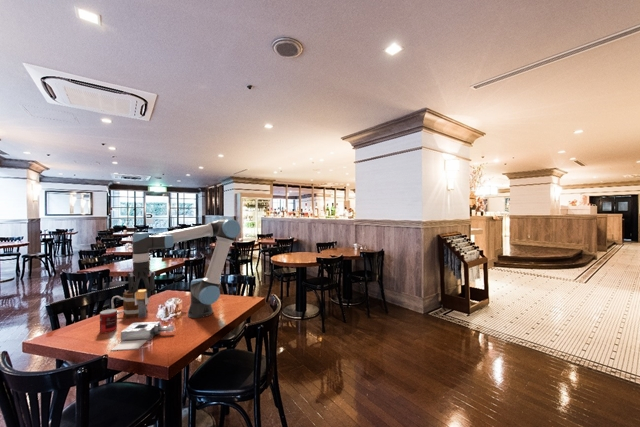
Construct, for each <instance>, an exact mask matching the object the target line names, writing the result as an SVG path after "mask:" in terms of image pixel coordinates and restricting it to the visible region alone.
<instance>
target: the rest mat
mask: <svg viewBox="0 0 640 427" xmlns="http://www.w3.org/2000/svg"><path fill="white" fill-rule="evenodd" d="M147 341H148V340H137V341H122V342H121V341H120V342H119V343H118V344H116V345H115V346H114V347H113V348H111V349H110V352H115V351H117V350H118V351H128V350H129V351H131V350H134V351H135V350H139V349H140V348H141V347H142V346H143V345H144V344H146V342H147ZM118 351H117V352H118Z"/></svg>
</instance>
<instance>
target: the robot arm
mask: <svg viewBox="0 0 640 427" xmlns="http://www.w3.org/2000/svg"><path fill="white" fill-rule="evenodd" d="M240 233H241V225H240V223H239V221H237V220H235V219H232V218H221V219H218V220H214V221H211V222H207V224H202V225H197V226H192V227H187V228H182V229H176V230H170V231H166V232H160V233H153V234H152V235H150V233H149V232H146V231H145V232H143V231H141V232H134V233H133V234H132V241H131V242H132V243H131V244H132V269H133V270H132V271H131V272H129V273H127V274H126V275H127V278H128V279H127V280H128V291H129V292H133V299H135V305H138V299H136V297H135V292H136V291H137V290H138V289H139V285H140V284H139V283H140V281H141V279H142V281H143V283H144V286H145V287H144V289H146V291H147V292H145V305H147V306H148V304H149V303H150V298H151V297H152V296H151V295H152V292H151V291H154V290H155V286H156V285H155V275H156V271H151V269H150V268H151V267H150V250H158V249H169V248H173V247H174V244H177V243H179V242H187V241H189V240H191V241H192V240H195V239H199V238H200V239H201V238H203V237H216V239H217V241H216V245H215V247H214V250H213V253H212V256H211V259H210V262H209V265H208V268H207V270H206V274H205V277H202V278H197V279H196V278H195V279H192V280H191V281H190V305H189V308H188V310H187V317H189V318H192V319H201V318H204V317H205V318H206V317H208V316H210V315H212V314H213V312H214V311H213V310H214V309H213V306H212V305H213V304H214V303H216V302H217V301H218V300H219V298H220V296H221V290H220V287H221V281H220V279H221V276H222V272H223V269H224V266H225V263H226V260H227V257H228V254H229V251H230V247H231V245H232V243H235V239H236V237H238V236H239V235H240ZM149 276H150V277H149Z"/></svg>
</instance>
